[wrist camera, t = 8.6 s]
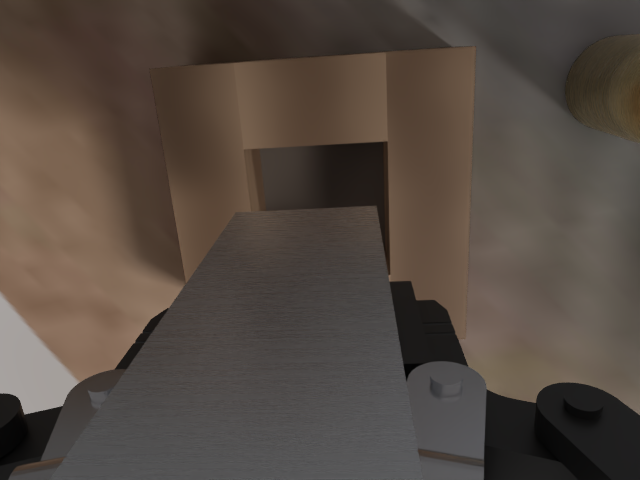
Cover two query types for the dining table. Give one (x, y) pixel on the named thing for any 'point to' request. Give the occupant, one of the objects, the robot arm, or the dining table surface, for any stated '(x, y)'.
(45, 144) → the dining table surface
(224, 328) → the square bit
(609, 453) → the robot arm
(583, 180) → the dining table surface
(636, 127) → the round bit
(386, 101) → the socket block
